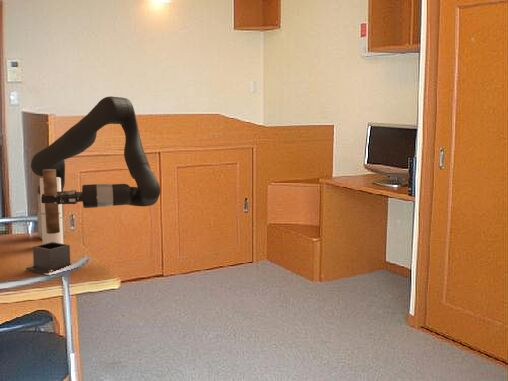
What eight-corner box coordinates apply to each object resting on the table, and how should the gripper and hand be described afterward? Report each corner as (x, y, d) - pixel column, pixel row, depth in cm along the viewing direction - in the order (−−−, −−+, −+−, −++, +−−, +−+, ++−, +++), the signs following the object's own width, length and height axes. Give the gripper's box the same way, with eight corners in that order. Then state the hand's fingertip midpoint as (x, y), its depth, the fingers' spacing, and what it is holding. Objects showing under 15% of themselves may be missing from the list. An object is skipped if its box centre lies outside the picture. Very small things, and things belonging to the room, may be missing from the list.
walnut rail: (43, 232, 194) (39, 170, 191) (53, 230, 197) (49, 168, 194) (52, 234, 192) (48, 170, 189) (62, 231, 195) (58, 169, 192)
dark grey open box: (26, 270, 191) (25, 247, 190) (54, 262, 200) (53, 240, 199) (50, 276, 185) (49, 251, 184) (77, 267, 194) (77, 244, 193)
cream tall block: (38, 247, 220) (35, 178, 216) (53, 243, 226) (50, 176, 222) (52, 250, 216) (49, 180, 213) (67, 245, 223) (65, 177, 219)
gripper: (96, 181, 203) (41, 183, 198) (98, 187, 190) (40, 190, 185) (97, 203, 204) (43, 206, 199) (99, 210, 191) (41, 214, 186)
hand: (42, 198), depth 192 cm, fingers closed on walnut rail, 4 cm apart
